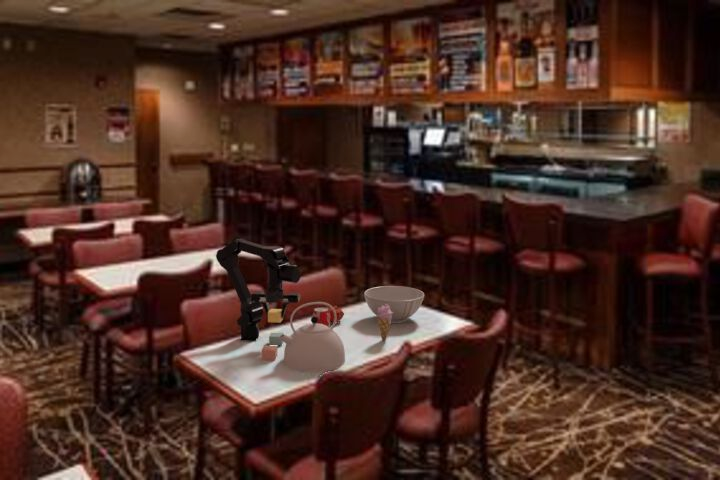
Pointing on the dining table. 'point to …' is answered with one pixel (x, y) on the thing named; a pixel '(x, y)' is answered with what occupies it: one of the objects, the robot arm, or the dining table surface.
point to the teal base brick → (275, 339)
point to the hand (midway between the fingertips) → (275, 317)
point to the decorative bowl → (395, 301)
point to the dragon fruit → (338, 313)
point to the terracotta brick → (269, 353)
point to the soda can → (322, 316)
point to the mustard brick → (275, 315)
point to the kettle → (313, 346)
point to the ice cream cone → (384, 320)
